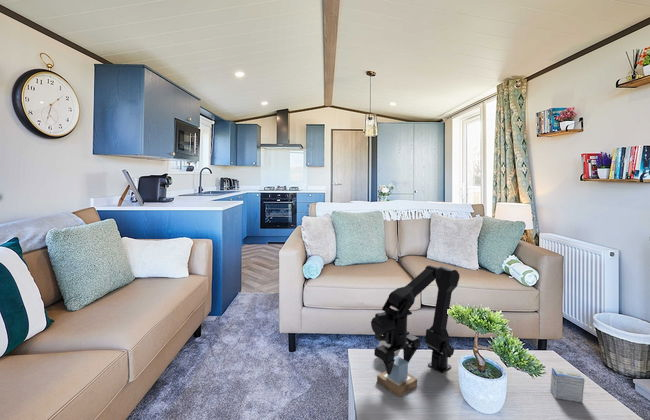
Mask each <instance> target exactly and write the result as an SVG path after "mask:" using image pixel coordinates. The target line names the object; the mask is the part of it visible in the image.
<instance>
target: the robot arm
mask: <svg viewBox="0 0 650 420" xmlns="http://www.w3.org/2000/svg"><path fill="white" fill-rule="evenodd" d="M434 281H435V284H436V286H437V296H436V301H435V302H436V303H435V308H434V315H433V322H432V325H431V327H430V328H426V330H425V336H424V340H425V344H426V346H427V348H428V349H429V350H431V359H430V360H431V361H430V362H429V363H427V366H429V367H430V368H432V369H434V370H435V371H438V372H440V373H445V372H446V371H448V370H449V369H451V368H452V365H451V364H449V359H450V358H452V356H453V355H454V353H455V349H454V348H453V346H452V345H451V344H450V336H449V333H448V329H447V328H448V327H447V326H448V318H449V314H447V309H449V310H450V305H451V301H452V293H453V292H454V290H455V289H457V287H458V285H459V282H460V272H458V270H457V269H453V268H449V267H447V266H443V265H440V266H434V265H432V264H429V265H426V266H425V268H424V270H422V271H421V272H420V273H419V274H418V275H417V276H415V278H413V279H412V280H411V281H410V282H409V283H407V285H405V286H402V287H397V288H396V289H394V290H392V291H391V292H390V293H389V295H388V297H387V299H386V301H385V302H384V304H383V306H382V308H381V310H382V311H383V312H377V313H375V315H374V317H373V318H372V319H371V321H370V326H371V329H372V332H373V333H374V338H375V340H376V341H379V342H380V341H386V343H387V344H390V346H391V347H389V348H388V347H386V346H384V345H382V346H379V347H378V346H377V347H376V348H374V353H373V354H374V357H377V358H378V359H380V360H381V362H382V363H383V366H384V368H385V371H387V374H389V375H390V374H391V371H392V368H393V364H394V361H395V359H394V357H395V352H397V351H399V350H400V351H401V350H402V351H403V359H404V360H406V361H407V362H408V364H409V363H410V361H411V359H412V357H413V356H414V354H415V353H416V351H417V350H419V347H421V339H420V338H419V337H417V336H415V335H413V334H411V333H410V330H408V328H407V327H408V316H411V315H412V314H413V312H412V311H411V310H410V309H411V307H413V305H414V304H415V300H416V298H417V297H418V295H419V294H421V293H422V292H423V291H424V290H425V289H426V288H428V287H429V285H430V284H432V283H433V282H434Z"/></svg>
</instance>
